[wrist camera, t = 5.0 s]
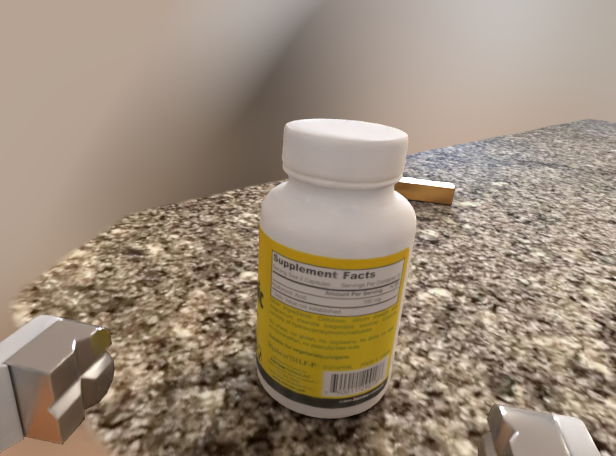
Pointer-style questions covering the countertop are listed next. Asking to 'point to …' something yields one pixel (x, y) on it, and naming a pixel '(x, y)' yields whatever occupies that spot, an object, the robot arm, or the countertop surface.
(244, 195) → the countertop surface
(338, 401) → the supplement bottle
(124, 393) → the countertop surface
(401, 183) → the wooden bar
